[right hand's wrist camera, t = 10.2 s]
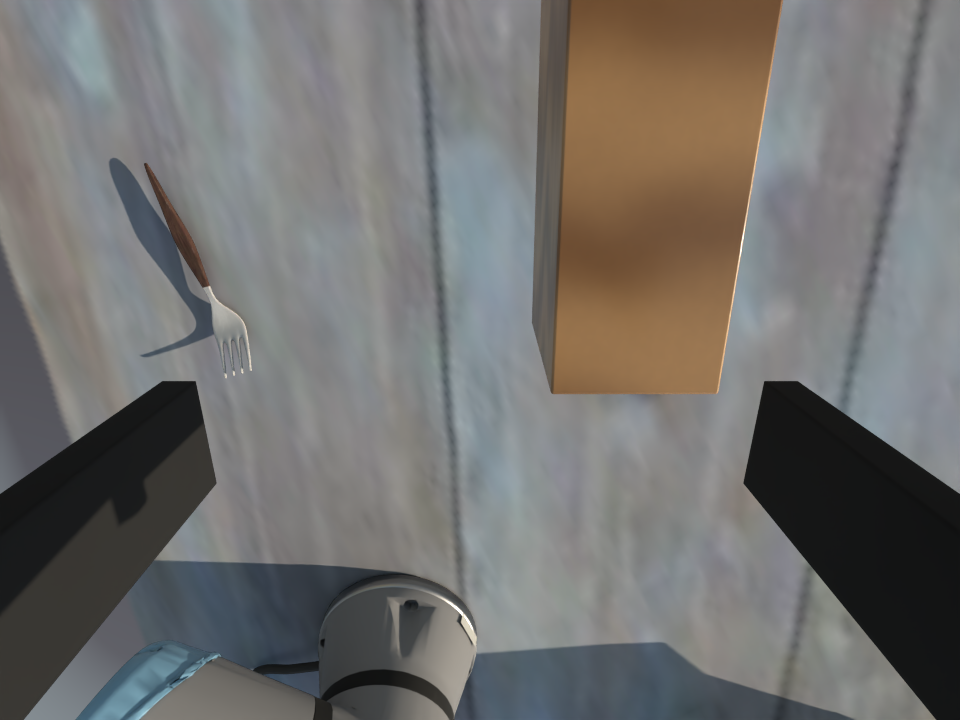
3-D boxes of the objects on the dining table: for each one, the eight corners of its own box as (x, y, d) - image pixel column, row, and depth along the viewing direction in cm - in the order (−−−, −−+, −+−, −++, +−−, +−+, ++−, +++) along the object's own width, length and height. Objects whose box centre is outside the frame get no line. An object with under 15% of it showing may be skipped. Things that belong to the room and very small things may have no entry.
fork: (166, 157, 37) (149, 157, 35) (263, 361, 42) (253, 370, 41) (133, 168, 37) (114, 169, 35) (233, 370, 43) (222, 379, 41)
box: (648, 323, 26) (718, 395, 18) (531, 324, 26) (550, 395, 18) (709, -233, 19) (871, -520, 11) (547, -230, 19) (590, -512, 11)
